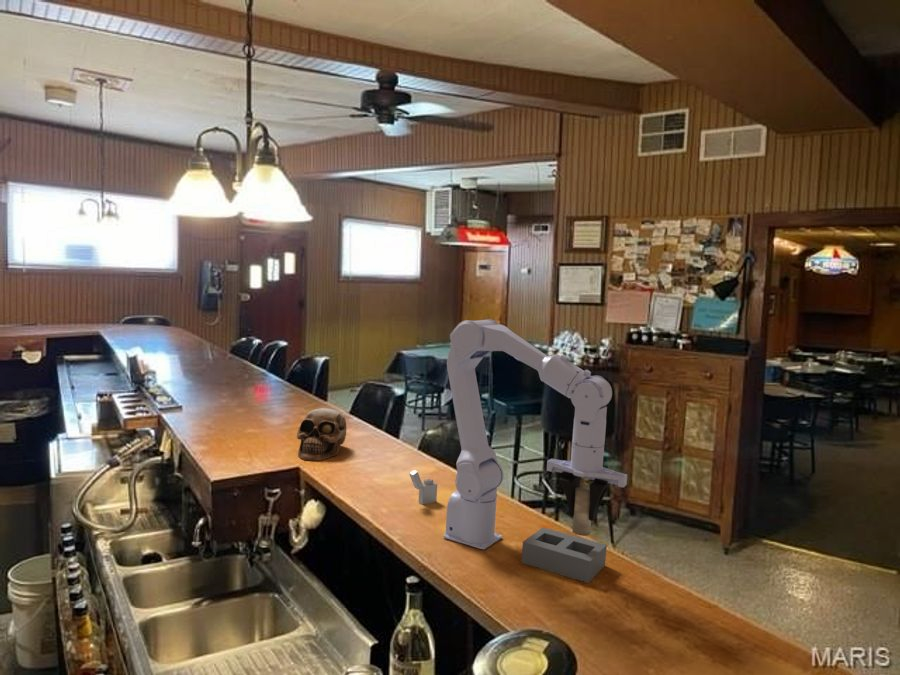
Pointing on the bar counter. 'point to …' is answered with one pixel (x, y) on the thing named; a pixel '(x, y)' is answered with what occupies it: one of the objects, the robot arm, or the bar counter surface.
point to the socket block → (564, 554)
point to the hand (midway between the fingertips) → (582, 516)
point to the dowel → (582, 512)
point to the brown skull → (321, 434)
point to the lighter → (424, 488)
